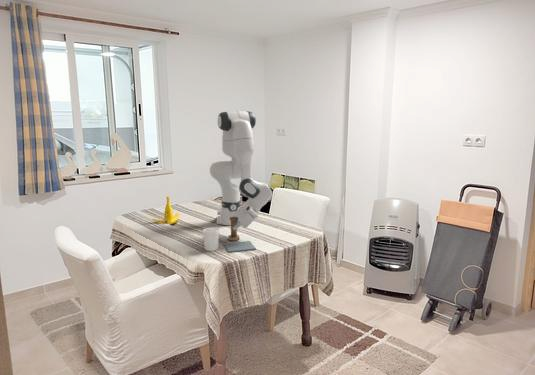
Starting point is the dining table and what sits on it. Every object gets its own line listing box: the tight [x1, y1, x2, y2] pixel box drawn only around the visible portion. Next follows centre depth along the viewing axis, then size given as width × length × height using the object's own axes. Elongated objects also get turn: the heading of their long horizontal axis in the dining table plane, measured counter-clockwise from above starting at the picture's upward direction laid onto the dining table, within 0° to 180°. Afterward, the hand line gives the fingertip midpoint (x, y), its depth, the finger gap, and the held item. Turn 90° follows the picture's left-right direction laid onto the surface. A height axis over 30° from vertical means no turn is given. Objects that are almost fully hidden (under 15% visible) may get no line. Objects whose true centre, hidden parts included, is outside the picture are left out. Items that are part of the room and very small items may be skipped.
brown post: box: [227, 217, 240, 242], centre depth 214 cm, size 6×6×12 cm
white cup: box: [202, 227, 220, 252], centre depth 199 cm, size 8×8×10 cm
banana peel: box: [151, 195, 179, 225], centre depth 249 cm, size 17×19×17 cm
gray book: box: [223, 240, 257, 253], centre depth 202 cm, size 12×14×1 cm
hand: (232, 227), depth 213 cm, fingers closed on brown post, 3 cm apart
